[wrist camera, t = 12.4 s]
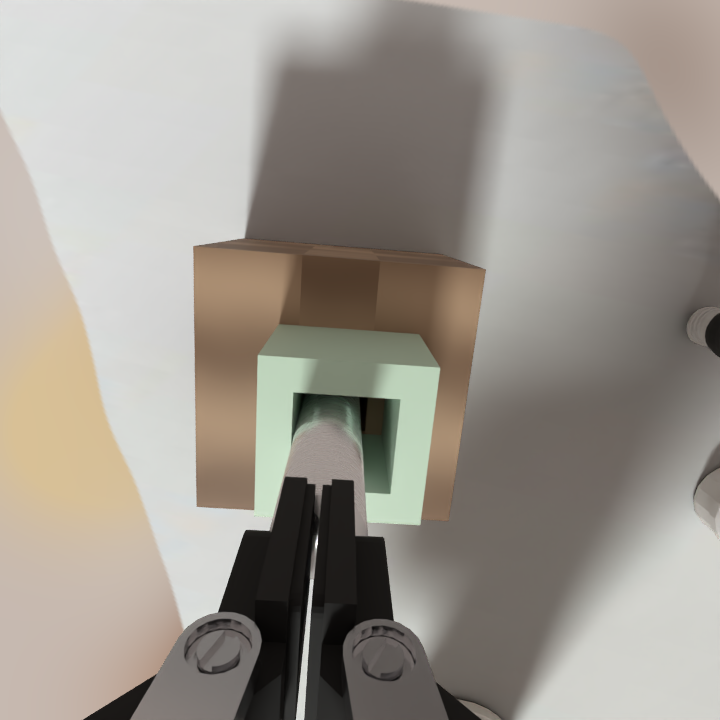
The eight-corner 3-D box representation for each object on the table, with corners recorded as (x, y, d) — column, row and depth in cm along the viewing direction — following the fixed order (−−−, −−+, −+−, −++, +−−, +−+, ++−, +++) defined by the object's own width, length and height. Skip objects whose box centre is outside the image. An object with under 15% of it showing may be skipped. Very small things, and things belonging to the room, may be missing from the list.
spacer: (404, 460, 22) (420, 525, 18) (274, 452, 22) (254, 516, 17) (419, 334, 21) (440, 367, 16) (278, 324, 21) (257, 355, 16)
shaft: (355, 390, 26) (363, 582, 12) (310, 387, 26) (267, 577, 12) (359, 347, 25) (371, 497, 12) (313, 343, 25) (270, 492, 11)
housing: (419, 434, 33) (448, 521, 23) (241, 422, 33) (196, 506, 23) (441, 254, 30) (485, 269, 20) (244, 238, 29) (193, 246, 20)
